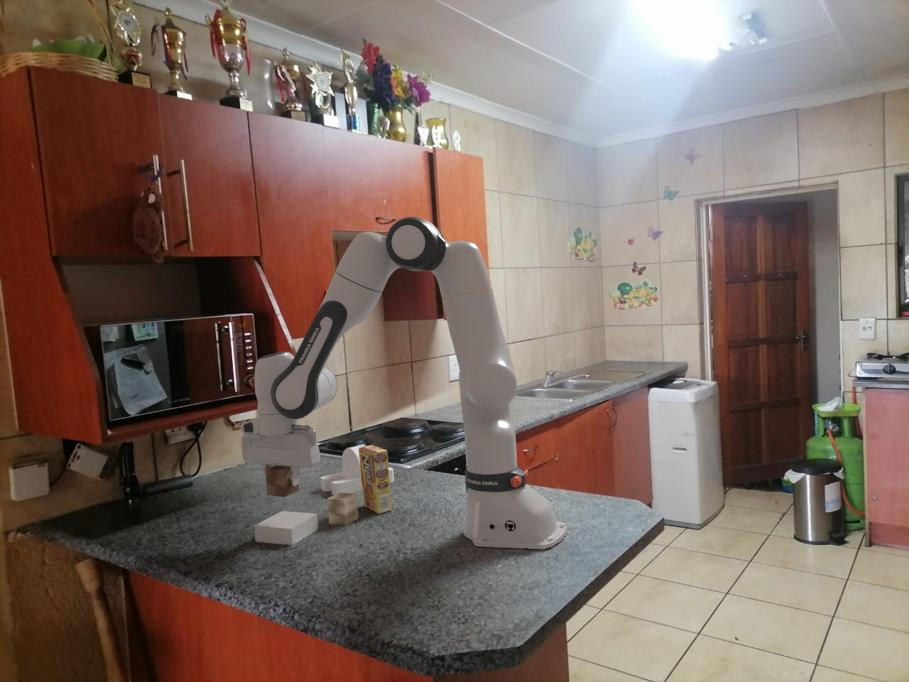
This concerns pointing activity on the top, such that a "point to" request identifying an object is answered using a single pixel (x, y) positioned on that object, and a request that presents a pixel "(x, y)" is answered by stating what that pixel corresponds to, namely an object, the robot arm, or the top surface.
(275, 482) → the walnut block
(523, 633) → the top surface
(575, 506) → the top surface
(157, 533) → the top surface
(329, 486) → the bracket
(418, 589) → the top surface
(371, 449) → the candy box
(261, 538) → the stone slab
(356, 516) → the beech block
